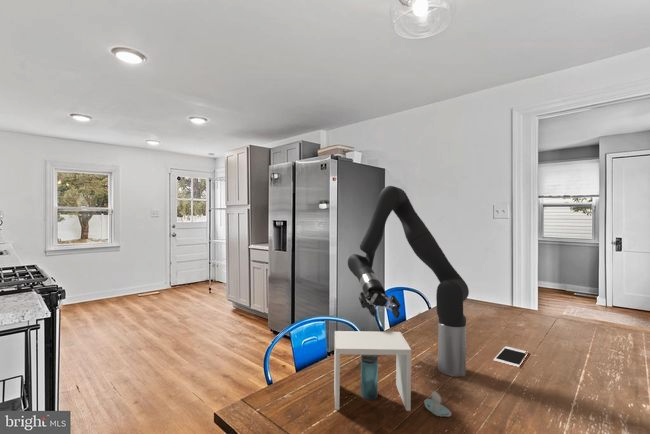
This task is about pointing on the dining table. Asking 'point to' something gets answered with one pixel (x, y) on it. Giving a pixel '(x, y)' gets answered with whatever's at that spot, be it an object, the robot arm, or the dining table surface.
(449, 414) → the pacifier
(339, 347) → the low shelf
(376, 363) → the teal bottle
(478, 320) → the dining table surface
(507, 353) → the cell phone
